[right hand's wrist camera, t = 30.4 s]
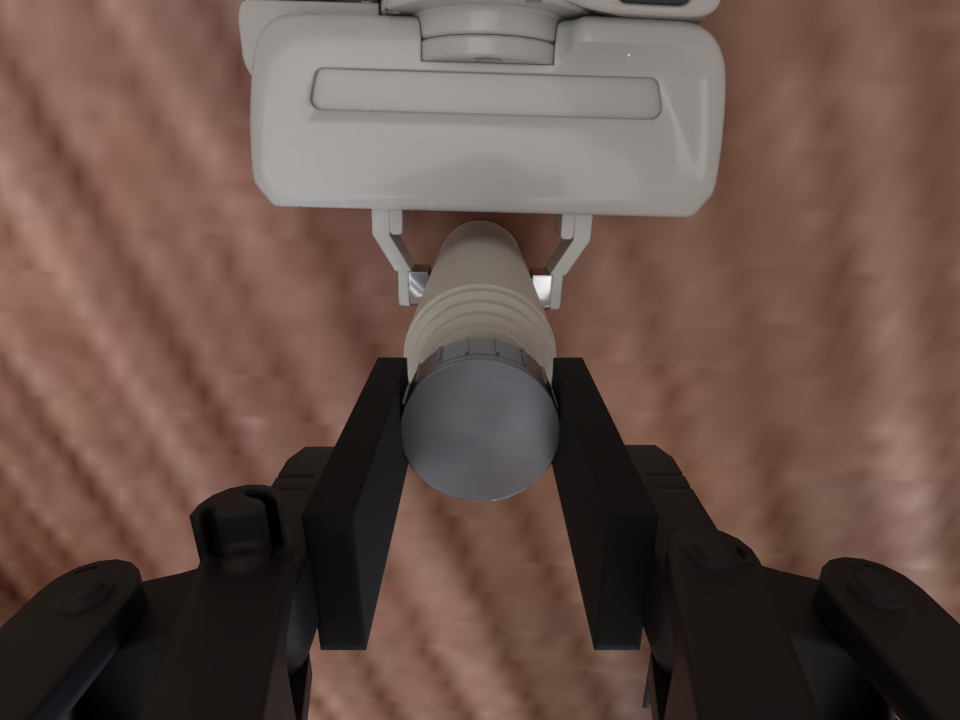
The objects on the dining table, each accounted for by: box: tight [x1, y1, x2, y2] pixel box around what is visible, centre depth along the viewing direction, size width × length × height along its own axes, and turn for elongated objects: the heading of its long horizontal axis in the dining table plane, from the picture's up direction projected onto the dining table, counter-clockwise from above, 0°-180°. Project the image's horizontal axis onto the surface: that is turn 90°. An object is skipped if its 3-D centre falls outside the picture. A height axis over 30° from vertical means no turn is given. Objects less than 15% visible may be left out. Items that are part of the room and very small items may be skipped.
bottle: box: [404, 220, 556, 383], centre depth 23 cm, size 5×5×20 cm
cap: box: [400, 337, 560, 502], centre depth 14 cm, size 4×4×2 cm
